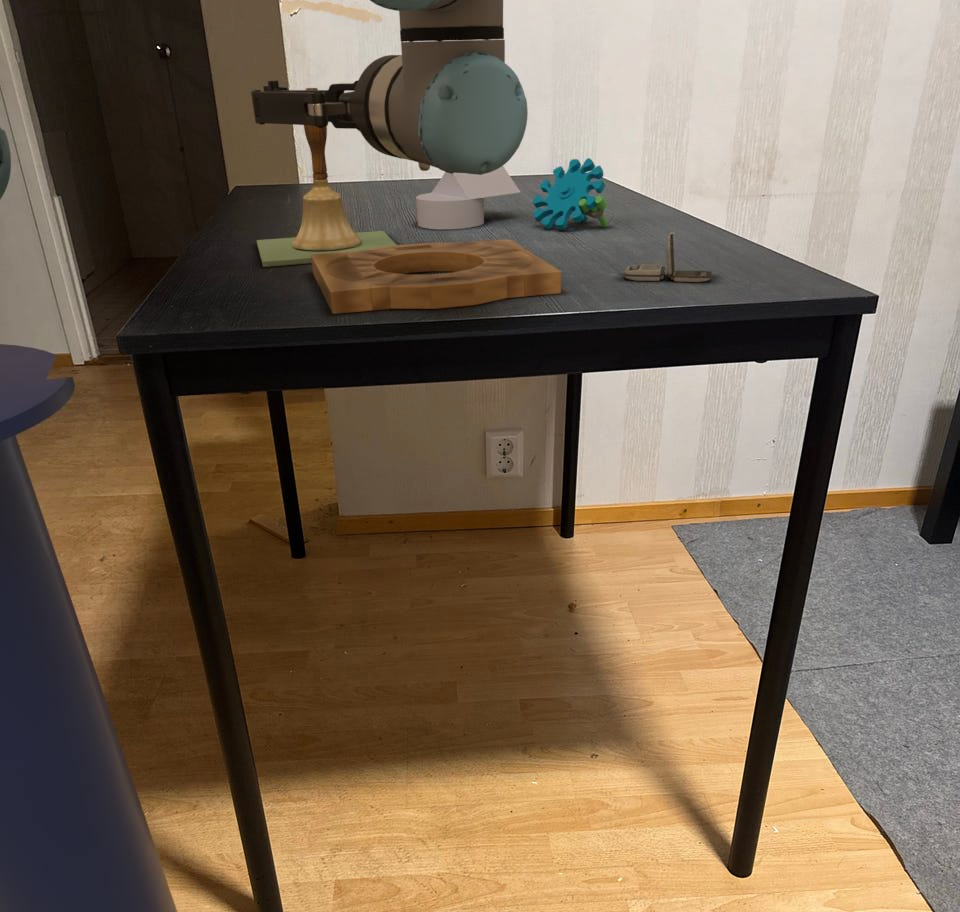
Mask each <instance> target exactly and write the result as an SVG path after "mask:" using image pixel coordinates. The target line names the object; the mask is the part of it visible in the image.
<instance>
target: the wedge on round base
mask: <svg viewBox="0 0 960 912" xmlns="http://www.w3.org/2000/svg"><path fill="white" fill-rule="evenodd" d="M521 192H522V191H520V189H519V187H518V186H517V185H516V183H515V181H514V180H513V178H512V177H511V175H510V174H509V173H508V171H507V169H506V168H505V166H504V165H503V166H502V167H500V168H498V169H497V170H494V171H492V172H489V173H485V174H482V175H478V174H467V173H453V174H451V173H447V172H445V171H444V174H443V175H442V177H441V178H440V179H439V181H438V182H437V183H436V185H435V187H434V188H433V190H432V191H431V192H427V193H422V194H418V195H417V196H416V197H415V201H416V216H417V226H418V227H420V228H421V229H423V228H424V229H429V230H462V229H470V228H476V227H479V226H482V225H484V224H485V206H484V205H485V204H484V203H485V202H484V200H485V198H490V197H497V196H498V197H499V196H505V195H513V194H519V193H521Z"/></svg>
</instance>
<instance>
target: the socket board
mask: <svg viewBox="0 0 960 912" xmlns="http://www.w3.org/2000/svg"><path fill="white" fill-rule="evenodd" d="M311 261H312V263H311V267H312V275H313V277H314V279H315V281H316V283H317V285H318V287H319V289H320V291H321V293H322V295H323V298H324V299H325V301H326V303H327V306H328V307H329V310H330V312H331V313H332V315H338V314H339V315H340V314H351V313H360V312H371V311H383V310H436V309H437V310H438V309H448V308H449V309H450V308H458V307H469V306H478V305H482V304H486V303H490V302H495V301H496V302H497V301H501V300H505V299H513V298H514V299H515V298H523V297H533V296H535V297H536V296H547V295H555V294H556V295H558V294H561V293H562V271H561V270H560V269H558V268H557V267H555V266H554V265H552V264H550V263H549V262H547V261H545V260H544V259H542V258H540V257H539V256H537V255H535V254H534V253H532V252H530V251H529V250H527V249H526V248H524V247H522V246H520V245H519V244H518V243H516V242H514V241H513V240H511V239H510V238H505V239H492V240H479V241H478V240H477V241H466V242H422V243H410V244H409V243H408V244H397V245H395V246H387V247H380V248H374V249H368V250H362V251H351V252H338V253H325V254H313V255H311ZM427 272H430V274H416V273H427ZM432 272H433V273H432ZM435 272H436V273H435ZM437 272H438V273H437ZM439 272H442V273H439ZM443 272H444V273H443Z"/></svg>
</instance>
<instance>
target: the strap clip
mask: <svg viewBox="0 0 960 912" xmlns="http://www.w3.org/2000/svg"><path fill="white" fill-rule="evenodd" d="M676 233H677V232H676V231H669V233H668V235H667V239H666V248H665V249H666V250H665V253H666V266H663V265H662V264H643V263H641V264H640V263H639V264H634V265H629V266H627V267H626V269H625V270H624V278H625V279H628V280H631V281H635V282H660V280H664V278H665V270H667V275H668V277H669V278H670V280H673V281H674V282H676V283H677V282H679V283H680V282H682V283H703V282H708V281H710V280H711V279H712V273H713V272H712V271H709V270H675V251H674V249H675V248H674V247H675V246H674V237H675V236H676Z"/></svg>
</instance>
